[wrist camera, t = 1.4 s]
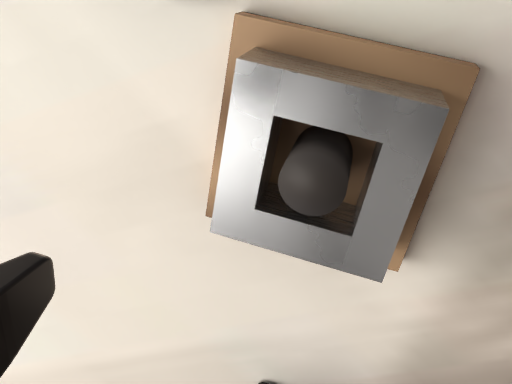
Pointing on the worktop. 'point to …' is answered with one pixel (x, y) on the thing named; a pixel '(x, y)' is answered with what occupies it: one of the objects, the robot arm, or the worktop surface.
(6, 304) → the robot arm
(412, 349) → the worktop surface
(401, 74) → the stand
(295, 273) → the worktop surface
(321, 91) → the collar
